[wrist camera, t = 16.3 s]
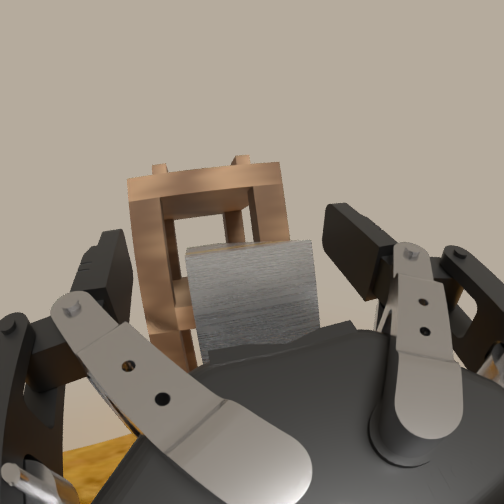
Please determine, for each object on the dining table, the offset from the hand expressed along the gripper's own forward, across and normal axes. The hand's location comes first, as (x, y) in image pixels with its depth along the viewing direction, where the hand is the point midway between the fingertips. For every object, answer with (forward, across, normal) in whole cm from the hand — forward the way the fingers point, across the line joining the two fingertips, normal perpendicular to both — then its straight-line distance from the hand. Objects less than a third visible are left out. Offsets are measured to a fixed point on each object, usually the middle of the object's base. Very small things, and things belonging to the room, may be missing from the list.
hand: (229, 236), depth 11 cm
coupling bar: (+6, 0, +8) cm, 10 cm away
